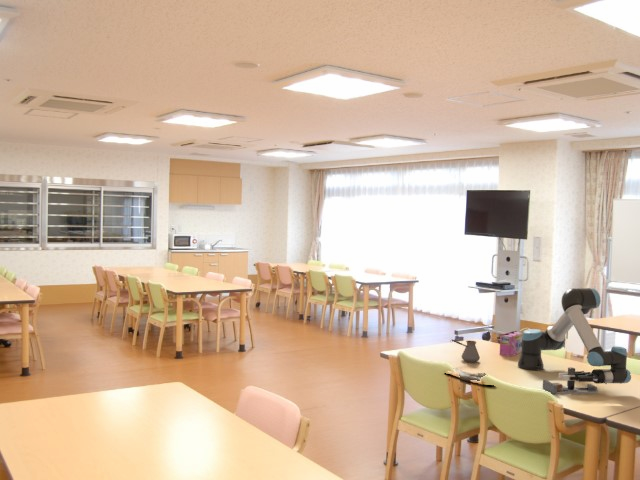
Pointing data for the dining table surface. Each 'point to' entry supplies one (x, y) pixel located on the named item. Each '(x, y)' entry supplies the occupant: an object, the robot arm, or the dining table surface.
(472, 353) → the coffee pot
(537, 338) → the robot arm
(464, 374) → the elongated rock
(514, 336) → the gum box
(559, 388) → the walnut block
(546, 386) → the anvil
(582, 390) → the press bed
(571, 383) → the carriage
